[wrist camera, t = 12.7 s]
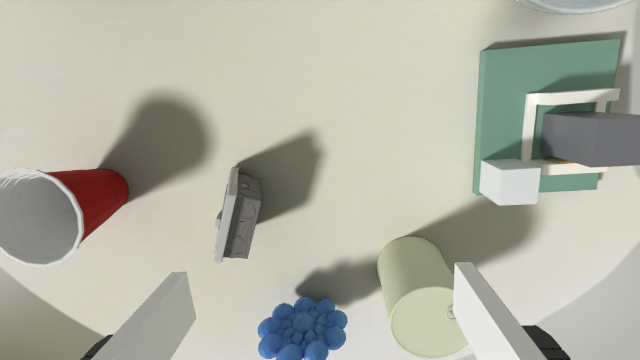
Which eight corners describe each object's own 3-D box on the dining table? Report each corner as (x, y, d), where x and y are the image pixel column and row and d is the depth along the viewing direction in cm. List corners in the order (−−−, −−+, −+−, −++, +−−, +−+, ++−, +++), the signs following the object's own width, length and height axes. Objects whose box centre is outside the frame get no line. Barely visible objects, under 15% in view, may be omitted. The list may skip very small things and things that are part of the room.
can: (457, 267, 44) (498, 330, 32) (405, 305, 46) (428, 377, 35) (413, 223, 43) (441, 271, 31) (363, 264, 45) (371, 324, 33)
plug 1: (481, 160, 38) (501, 170, 33) (515, 158, 38) (541, 168, 33) (479, 191, 39) (498, 205, 34) (512, 189, 39) (536, 203, 34)
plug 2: (543, 113, 36) (598, 119, 29) (584, 110, 36) (651, 116, 28) (538, 154, 38) (590, 170, 30) (578, 152, 37) (641, 167, 30)
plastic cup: (151, 160, 42) (81, 186, 31) (143, 231, 45) (76, 279, 34) (73, 139, 42) (-28, 157, 31) (69, 211, 45) (-23, 252, 34)
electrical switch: (233, 164, 42) (212, 186, 33) (271, 173, 42) (261, 198, 34) (220, 226, 45) (198, 262, 36) (256, 234, 45) (243, 271, 36)
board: (480, 51, 36) (499, 46, 32) (609, 40, 35) (647, 33, 31) (472, 191, 41) (488, 203, 37) (587, 185, 40) (617, 197, 35)
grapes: (269, 321, 48) (247, 393, 37) (268, 283, 46) (245, 346, 35) (345, 326, 48) (347, 402, 36) (347, 288, 46) (350, 354, 34)
